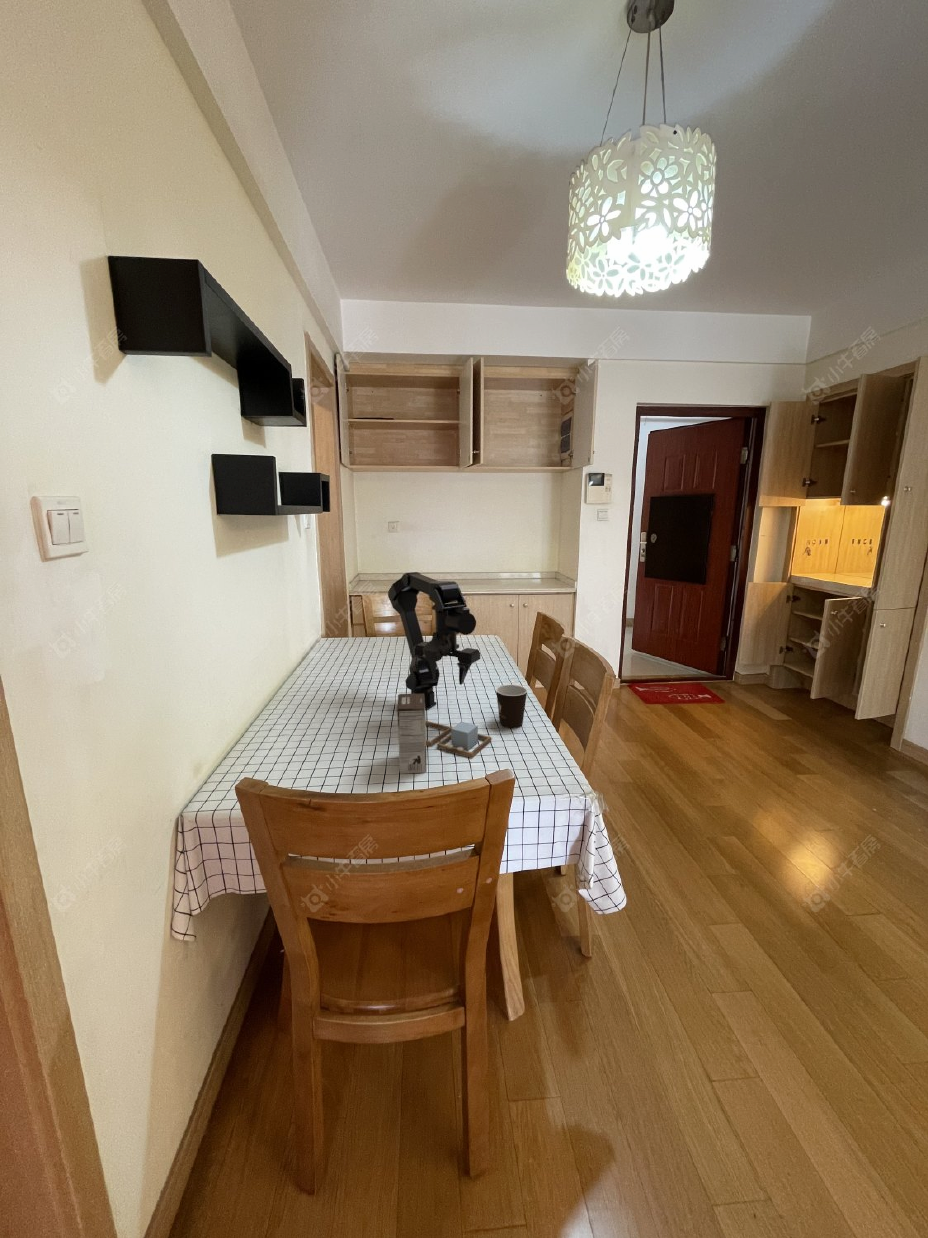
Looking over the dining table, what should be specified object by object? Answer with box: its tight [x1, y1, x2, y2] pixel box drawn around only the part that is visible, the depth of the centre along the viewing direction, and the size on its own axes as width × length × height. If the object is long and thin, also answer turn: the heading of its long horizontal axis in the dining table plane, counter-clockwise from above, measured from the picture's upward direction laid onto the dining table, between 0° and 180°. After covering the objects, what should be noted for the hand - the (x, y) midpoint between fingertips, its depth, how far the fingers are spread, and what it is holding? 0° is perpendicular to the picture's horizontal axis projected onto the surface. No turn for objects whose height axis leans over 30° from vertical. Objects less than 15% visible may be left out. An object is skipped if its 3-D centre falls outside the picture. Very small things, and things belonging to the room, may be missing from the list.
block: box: [450, 721, 479, 752], centre depth 124 cm, size 5×5×5 cm
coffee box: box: [396, 693, 427, 774], centre depth 113 cm, size 9×6×16 cm
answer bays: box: [426, 720, 492, 759], centre depth 127 cm, size 22×11×2 cm, turn 60°
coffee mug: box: [495, 684, 528, 729], centre depth 137 cm, size 12×9×10 cm
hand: (446, 681), depth 136 cm, fingers open, 9 cm apart
